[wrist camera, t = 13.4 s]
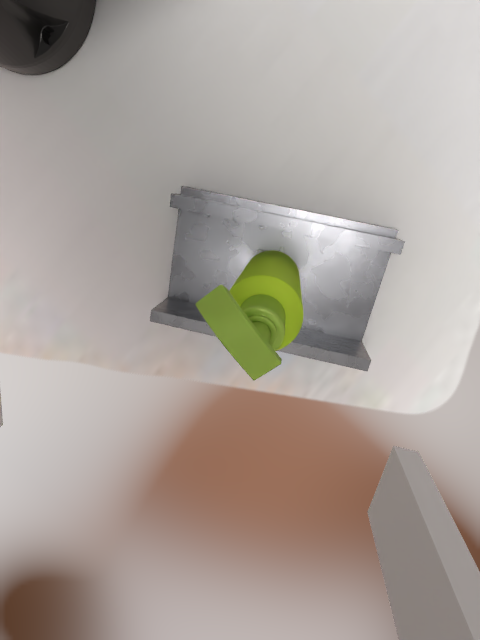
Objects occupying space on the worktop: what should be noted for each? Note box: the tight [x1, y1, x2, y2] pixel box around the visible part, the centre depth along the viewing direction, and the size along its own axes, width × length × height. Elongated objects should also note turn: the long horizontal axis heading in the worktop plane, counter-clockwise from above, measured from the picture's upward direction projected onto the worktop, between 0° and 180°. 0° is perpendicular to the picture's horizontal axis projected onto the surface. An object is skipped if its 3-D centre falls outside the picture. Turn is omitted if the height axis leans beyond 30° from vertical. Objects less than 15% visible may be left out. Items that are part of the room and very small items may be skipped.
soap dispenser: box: [196, 250, 303, 380], centre depth 28 cm, size 6×7×20 cm
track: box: [150, 186, 405, 371], centre depth 36 cm, size 14×22×6 cm, turn 79°
